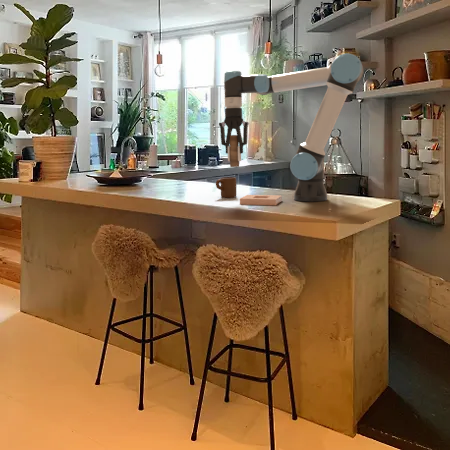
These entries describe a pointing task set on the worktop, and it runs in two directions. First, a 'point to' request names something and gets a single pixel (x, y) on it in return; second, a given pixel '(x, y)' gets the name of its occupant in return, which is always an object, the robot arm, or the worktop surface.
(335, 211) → the worktop surface
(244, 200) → the socket plate
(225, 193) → the mug
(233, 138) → the peg
